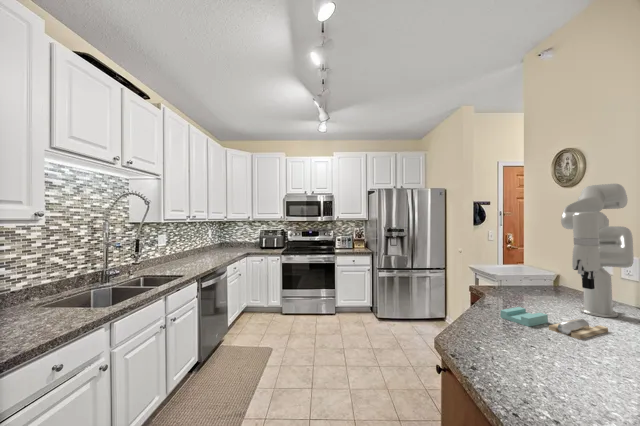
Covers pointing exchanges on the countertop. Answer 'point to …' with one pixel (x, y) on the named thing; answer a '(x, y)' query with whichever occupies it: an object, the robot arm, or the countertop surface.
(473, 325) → the countertop surface
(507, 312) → the cradle
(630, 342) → the countertop surface
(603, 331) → the wooden grooved block
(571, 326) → the axle
